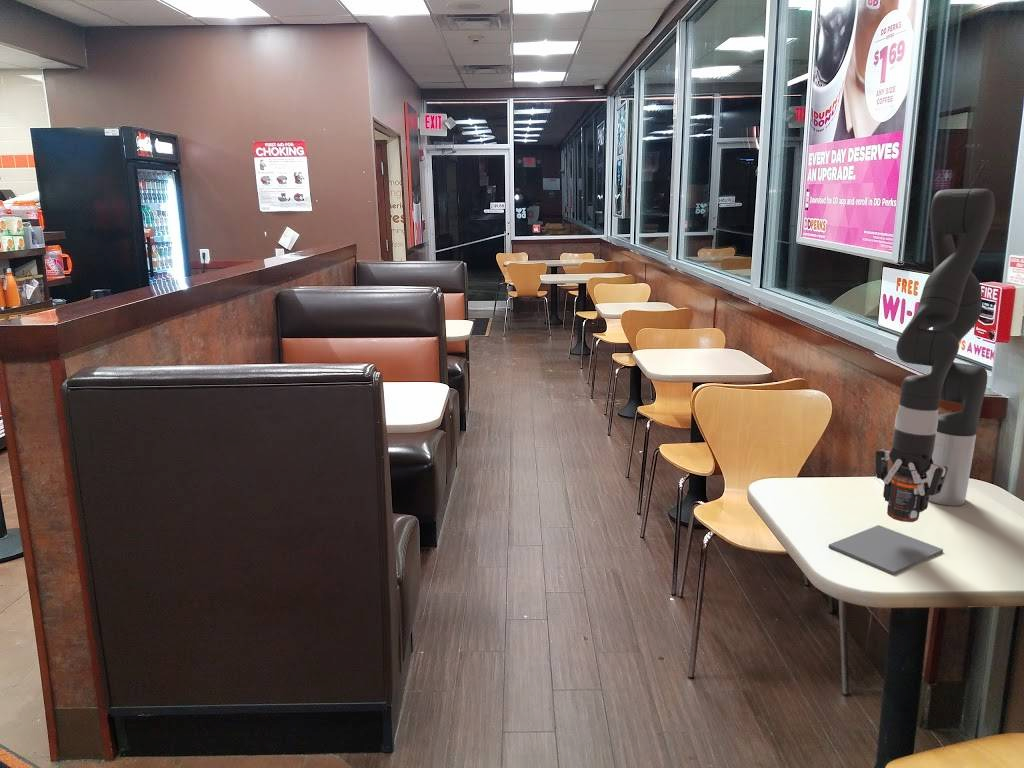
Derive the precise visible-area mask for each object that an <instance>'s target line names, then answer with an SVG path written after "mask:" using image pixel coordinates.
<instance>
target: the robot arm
mask: <svg viewBox="0 0 1024 768" xmlns="http://www.w3.org/2000/svg"><path fill="white" fill-rule="evenodd" d="M932 197H933V198H932V200H931V205H930V211H929V212H930V213H929V214H930V221H929V222H930V233H931V244H932V245H931V246H932V256H933V271H932V272H931V273H930V274H929V276H928V277H927V279H926V281H925V283H924V286H923V289H922V292H921V296H920V300H919V303H918V306H917V308H916V311H915V312H914V315H913V316H912V318H911V319H910V321H909V322H908V324H907V325H906V327H905V328H904V329H903V330H902V333H901V334H900V335H899V338H898V340H897V343H896V347H895V348H896V354H897V356H898V358H899V360H900V361H901V362H903V363H906V364H910V365H911V364H912V365H921V366H929V367H931V372H930V373H927V374H919V375H918V374H915V375H907V376H906V377H905V378H904V379H903V380H902V382H901V389H900V395H899V404H898V407H897V411H896V415H895V420H894V430H893V434H892V435H893V437H892V442H891V443H892V444H891V446H892V448H891V450H887V449H886V448H882V449H879V450H876V452H875V477H876V479H877V480H882V481H883V483H884V487H883V495H882V496H883V498H884V501H885V502H887V503H888V501H889V494H890V487H891V480H892V477H893V476H894V475H895V474H896V473H897V472H899V468H900V466H902V465H903V466H906V467H909V469H910V471H911V473H912V476H913V480H914V483H915V484H916V485H918V486H917V488H918V491H919V494H918V497H917V504H916V512H919V514H921V513H923V512H924V511H926V510H927V509H928V506H929V502H932V503H934V504H938V505H941V506H942V505H944V506H950V507H952V506H954V507H955V506H956V507H957V506H963V505H964V504H965V503H966V499H967V498H966V497H967V492H968V486H969V480H970V475H971V469H972V463H973V457H974V456H973V455H974V451H975V444H976V440H977V439H976V438H977V431H978V427H979V422H980V417H981V412H982V406H983V403H984V399H985V394H986V389H987V384H988V373H987V370H986V368H985V367H983V366H979V365H975V364H969V363H961V362H955V359H956V357H957V355H958V353H959V350H960V349H959V348H960V342H961V340H962V339H963V338H964V337H965V336H966V335H968V333H969V332H970V331H971V330H972V329H973V328H974V327H975V326H976V324H977V323H978V321H979V319H980V317H981V313H982V293H983V292H982V286H981V283H980V282H979V280H978V279H977V277H976V275H975V273H973V271H972V269H973V267H974V265H975V263H976V261H977V259H978V256H979V255H980V252H981V250H982V248H983V245H984V243H985V241H986V238H987V236H988V233H989V231H990V229H991V226H992V223H993V220H994V215H995V211H996V200H995V196H994V193H993V191H992V190H990V189H989V188H957V189H956V188H951V189H950V188H948V189H941V190H938V191H937V192H936V193H935V194H934V195H933V196H932ZM953 235H956V236H957V235H963V236H965V237H964V239H963V240H962V242H961V243H960V245H958V246H957V248H956V245H955V242H954V238H953V237H954V236H953ZM931 328H933V329H931ZM941 401H944V402H950V403H955V404H962V408H961V409H960V410H958V411H955V412H947V413H939V408H940V402H941ZM889 460H891V463H892V465H893V466H892V467H891V468H890V469H889V465H888V464H889ZM920 477H921V478H922V479H921V478H920Z"/></svg>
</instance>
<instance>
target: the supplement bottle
mask: <svg viewBox="0 0 1024 768" xmlns="http://www.w3.org/2000/svg"><path fill="white" fill-rule="evenodd" d="M920 478H921V477H920ZM921 479H922V478H921ZM917 486H918V485H916V484H915V483H914V480H913V476H912V473H911V471H910V469H909V467H906V466H903V465H902V466H900V468H899V472H897V473H896V474H895V475H894V476H893V477H892V480H891V487H890V494H889V501H888V502H887V507H886V508H887V510H886V511H887V512H886V513H887V516H888V517H890V518H891V519H893V520H895V521H898V522H905V523H914V522H917V521H918V520H919V518H920V513H919V512H916V504H917V497H918V494H919V491H918V488H917Z"/></svg>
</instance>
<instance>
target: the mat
mask: <svg viewBox="0 0 1024 768" xmlns="http://www.w3.org/2000/svg"><path fill="white" fill-rule="evenodd" d="M828 548H830V549H832V550H834V551H836V552H839V553H841V554H844V555H846V556H848V557H851V558H853V559H856V560H858V561H860V562H863V563H865V564H866V565H867V564H868V565H870V566H872V567H875V568H877V569H879V570H882V571H883V572H886V573H888V574H891V575H893V576H894V575H896V574H899V573H901V572H902V571H905V570H907V569H910V568H912V567H913V566H916V565H918V564H920V563H922V562H925V561H926V560H929V559H930V558H931V559H932V558H934V556H938V555H939V554H941V553H944V548H941V547H938V546H935V545H933V544H930V543H927V542H924V541H922V540H919V539H916V538H914V537H911V536H909V535H906V534H903V533H901V532H897V531H895V530H893V529H890V528H887V527H885V526H882V525H879V524H878V525H875V526H873V527H871V528H867V529H864V530H863V531H860V532H857V533H855V534H852V535H850V536H847V537H844V538H842V539H839V540H837V541H834V542H832V543H829V544H828Z"/></svg>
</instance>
